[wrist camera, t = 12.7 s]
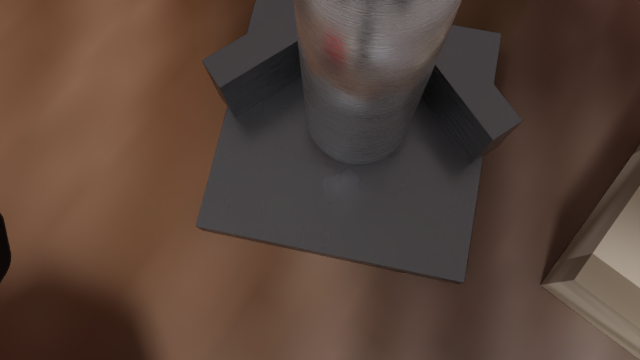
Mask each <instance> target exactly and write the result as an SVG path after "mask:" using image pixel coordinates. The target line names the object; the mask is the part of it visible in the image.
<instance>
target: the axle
mask: <svg viewBox="0 0 640 360" xmlns="http://www.w3.org/2000/svg"><path fill="white" fill-rule="evenodd" d="M293 1H294V11H295V20H296V29H297V39H298V48H299V57H300V67H301V76H302V85H303V95H304V104H305V114H306V122H307V127H308V130H309V133H310V135H311V137H312V139H313V140H314V142H315V143H316V144H317V146H318V147H319V148H320V149H321V150H322V151H323V152H325V153H326V154H327V155H329V156H330V157H332V158H334V159H336V160H339V161H342V162H346V163H351V164H366V163H371V162H375V161H378V160H380V159H382V158H384V157H386V156H387V155H389V154H390V153H391V152H393V151H394V150H395V149H396V148H397V147H398V146H399V144H400V143H401V142H402V140H403V138H404V136H405V135H406V132H407V130H408V127H409V125H410V123H411V120H412V118H413V116H414V113H415V111H416V108H417V106H418V104H419V101H420V99H421V97H422V94H423V92H424V90H425V87H426V85H427V82H428V80H429V78H430V75H431V73H432V71H433V68H434V66H435V63H436V61H437V59H438V56H439V54H440V52H441V49H442V47H443V45H444V42H445V40H446V37H447V35H448V33H449V30H450V28H451V26H452V23H453V21H454V18H455V16H456V14H457V11H458V9H459V7H460V4H461V2H462V0H293Z"/></svg>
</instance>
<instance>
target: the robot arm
mask: <svg viewBox="0 0 640 360" xmlns="http://www.w3.org/2000/svg"><path fill="white" fill-rule="evenodd" d="M10 262H11V251H10V246H9V242H8V237H7V232H6V227H5V223H4V219H3V216H2V215H1V213H0V283H1V281H2V279H3V278H4V276H5V275H6V273H7V271H8V269H9V266H10Z"/></svg>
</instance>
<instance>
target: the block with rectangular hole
mask: <svg viewBox="0 0 640 360" xmlns="http://www.w3.org/2000/svg"><path fill="white" fill-rule="evenodd" d="M541 286H542V287H544V288H545V289H546V290H548V291H549V292H550V293H552V294H553V295H554V296H556V297H557V298H558V299H560V300H561V301H562V302H564V303H565V304H566V305H568V306H569V307H570V308H572V309H573V310H574V311H576V312H577V313H578V314H580V315H581V316H582V317H584V318H585V319H586V320H587V321H589V322H590V323H591V324H593V325H594V326H595V327H597V328H598V329H599V330H601V331H602V332H603V333H605V334H606V335H607V336H609V337H610V338H611V339H613V340H614V341H615V342H617V343H618V344H619V345H621V346H622V347H623V348H625V349H626V350H627V351H629V352H630V353H631V354H633V355H634V356H635V357H637V358H638V359H639V360H640V145H639V146H638V148H637V149H636V151H635V152H634V153H633V155H632V156H631V158H630V159H629V160H628V162H627V163H626V165H625V166H624V168H623V169H622V170H621V172H620V173H619V175H618V176H617V177H616V179H615V180H614V182H613V183H612V184H611V186H610V187H609V189H608V190H607V192H606V193H605V194H604V196H603V197H602V199H601V200H600V201H599V203H598V204H597V206H596V207H595V208H594V210H593V211H592V213H591V214H590V216H589V217H588V218H587V220H586V221H585V223H584V224H583V225H582V227H581V228H580V230H579V231H578V233H577V234H576V235H575V237H574V238H573V240H572V241H571V242H570V244H569V245H568V247H567V248H566V249H565V251H564V252H563V254H562V255H561V257H560V258H559V259H558V261H557V262H556V264H555V265H554V266H553V268H552V269H551V271H550V272H549V273H548V275H547V276H546V278H545V279H544V281H543V282H542V283H541Z"/></svg>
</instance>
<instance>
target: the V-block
mask: <svg viewBox="0 0 640 360" xmlns="http://www.w3.org/2000/svg"><path fill="white" fill-rule="evenodd" d="M500 40H501V33H495V32H490V31H484V30H479V29H473V28H467V27H462V26H456V25H452V26H451V28H450V30H449V33H448V35H447V37H446V40H445V42H444V45H443V47H442V49H441V52H440V54H439V56H438V59H437V61H436V63H435V66H434V68H433V71H432V73H431V75H430V78H429V80H428V82H427V85H426V87H425V90H424V92H423V94H422V97H421V99H420V101H419V104H418V106H417V108H416V111H415V113H414V116H413V118H412V120H411V123H410V125H409V127H408V130H407V132H406V135H405V136H404V138H403V140H402V142H401V143H400V144H399V146H398V147H397V148H396V149H395V150H394V151H393V152H391V153H390V154H389V155H387V156H386V157H384V158H382V159H380V160H378V161H375V162H371V163H366V164H351V163H346V162H342V161H339V160H336V159H334V158H332V157H330V156H329V155H327V154H326V153H325V152H323V151H322V150H321V149H320V148H319V147H318V146H317V144H316V143H315V142H314V140H313V139H312V137H311V135H310V133H309V130H308V127H307V122H306V114H305V104H304V95H303V85H302V76H301V67H300V57H299V48H298V39H297V29H296V20H295V11H294V1H293V0H256V1H255V5H254V8H253V12H252V16H251V20H250V24H249V27H248V31H247V34H245V35H244V36H242V37H240V38H239V39H237V40H235V41H234V42H232V43H230V44H229V45H227V46H225V47H223V48H222V49H220V50H218V51H217V52H215V53H213V54H212V55H210V56H208V57H207V58H205V59H203V60H202V62H203V64H204V66H205V68H206V70H207V71H208V73H209V75H210V77H211V79H212V81H213V83H214V85H215V87H216V89H217V91H218V93H219V95H220V96H221V98H222V99H223V101H224V102H225V104H226V105H227V110H226V114H225V118H224V122H223V125H222V129H221V133H220V137H219V140H218V144H217V148H216V152H215V156H214V159H213V163H212V167H211V171H210V174H209V178H208V182H207V186H206V190H205V193H204V197H203V201H202V205H201V208H200V212H199V216H198V220H197V223H196V227H198V228H199V229H201V230H203V231H208V232H213V233H218V234H222V235H227V236H232V237H237V238H241V239H246V240H251V241H256V242H260V243H265V244H270V245H275V246H279V247H284V248H289V249H294V250H299V251H303V252H308V253H313V254H318V255H322V256H327V257H332V258H337V259H341V260H346V261H351V262H356V263H360V264H365V265H370V266H375V267H379V268H384V269H389V270H394V271H398V272H403V273H408V274H413V275H417V276H422V277H427V278H432V279H436V280H441V281H446V282H451V283H455V284H460V283H464V280H465V273H466V266H467V260H468V253H469V247H470V240H471V233H472V227H473V220H474V213H475V207H476V200H477V193H478V187H479V180H480V173H481V167H482V160H483V156H484V155H486V154H487V153H489V152H490V151H492V150H493V149H495V148H496V147H497V146H498V145H499V144H500V143H501V142H502V141H503V140H504V139H505V138H506V137H507V136H508V135H509V134H510V133H511V132H512V131H513V130H514V129H515V128H516V127H517V126H518V125H519V124H520V123H521V122H522V119H521V118H520V117H519V116H518V114H517V113H516V112H515V110H514V109H513V108H512V107H511V105H510V104H509V103H508V102H507V100H506V99H505V98H504V96H503V95H502V94H501V93H500V91H499V90H498V89H497V88H496V86H495V85H494V80H495V73H496V67H497V60H498V53H499V47H500Z"/></svg>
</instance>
